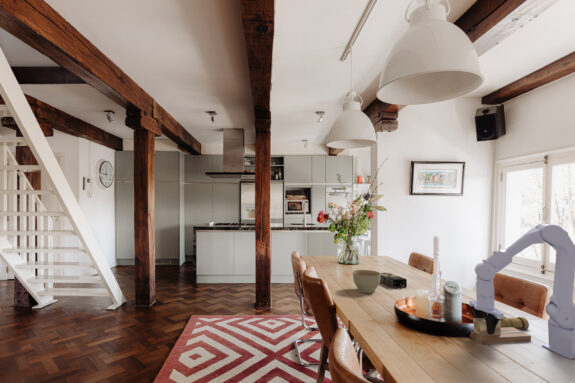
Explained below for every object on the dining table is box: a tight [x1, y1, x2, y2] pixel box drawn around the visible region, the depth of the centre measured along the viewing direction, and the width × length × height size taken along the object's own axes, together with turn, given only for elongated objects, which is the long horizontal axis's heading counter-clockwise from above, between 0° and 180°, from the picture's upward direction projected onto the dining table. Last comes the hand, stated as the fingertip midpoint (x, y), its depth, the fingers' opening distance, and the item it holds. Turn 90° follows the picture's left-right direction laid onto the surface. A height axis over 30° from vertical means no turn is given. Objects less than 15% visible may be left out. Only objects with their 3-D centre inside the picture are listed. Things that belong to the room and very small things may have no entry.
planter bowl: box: [352, 269, 382, 294], centre depth 178 cm, size 16×16×11 cm
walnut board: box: [469, 327, 532, 345], centre depth 116 cm, size 8×20×2 cm, turn 97°
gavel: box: [487, 313, 530, 330], centre depth 133 cm, size 21×5×10 cm
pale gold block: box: [472, 317, 501, 336], centre depth 115 cm, size 4×8×5 cm, turn 97°
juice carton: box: [379, 272, 408, 290], centre depth 194 cm, size 20×10×6 cm, turn 14°
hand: (486, 331), depth 115 cm, fingers closed on pale gold block, 4 cm apart
